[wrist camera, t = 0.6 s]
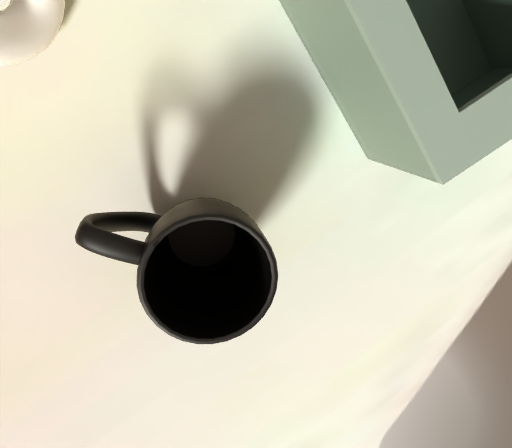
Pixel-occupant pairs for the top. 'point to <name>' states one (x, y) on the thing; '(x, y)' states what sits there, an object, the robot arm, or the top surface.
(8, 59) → the white knot sculpture
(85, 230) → the mug
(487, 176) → the top surface
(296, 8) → the box
